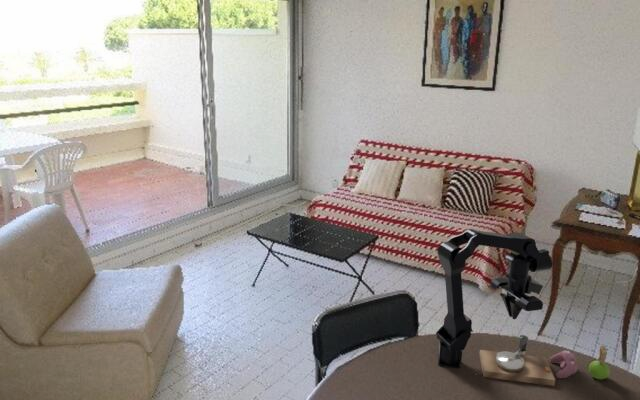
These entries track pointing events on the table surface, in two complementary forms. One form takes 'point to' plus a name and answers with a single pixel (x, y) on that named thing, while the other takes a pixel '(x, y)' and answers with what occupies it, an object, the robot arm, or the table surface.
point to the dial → (513, 357)
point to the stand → (532, 372)
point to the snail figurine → (600, 365)
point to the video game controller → (565, 363)
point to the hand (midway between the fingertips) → (512, 317)
